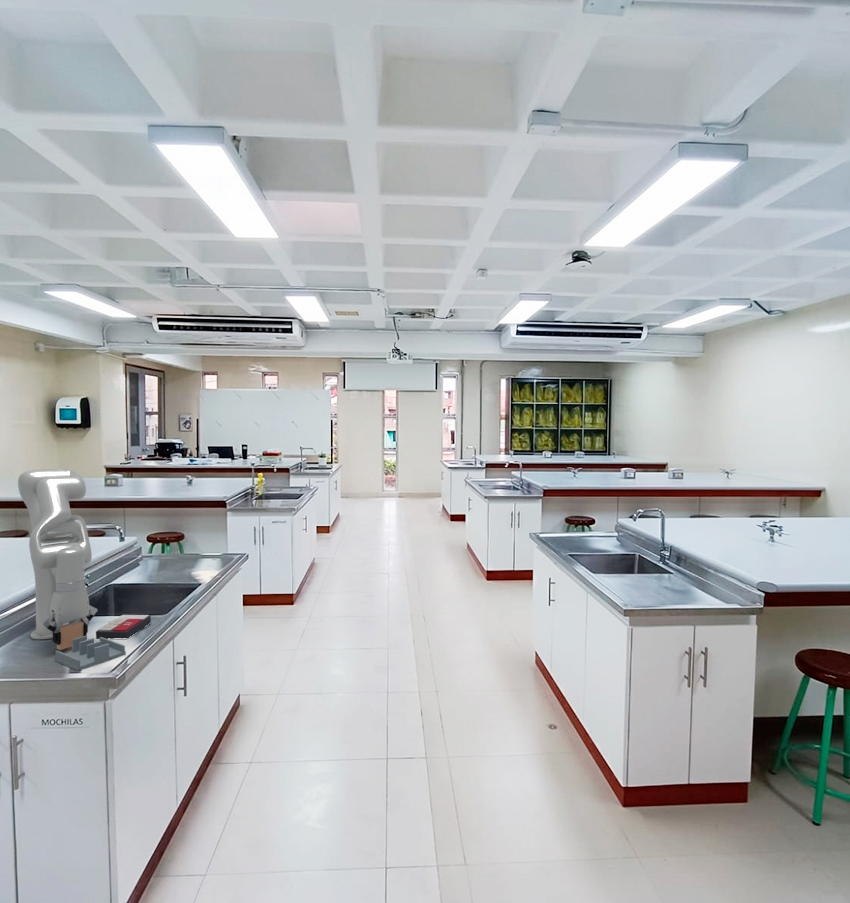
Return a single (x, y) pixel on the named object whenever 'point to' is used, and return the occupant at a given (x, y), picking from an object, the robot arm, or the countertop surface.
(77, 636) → the tile
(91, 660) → the rack
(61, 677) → the countertop surface
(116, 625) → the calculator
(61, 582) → the robot arm
